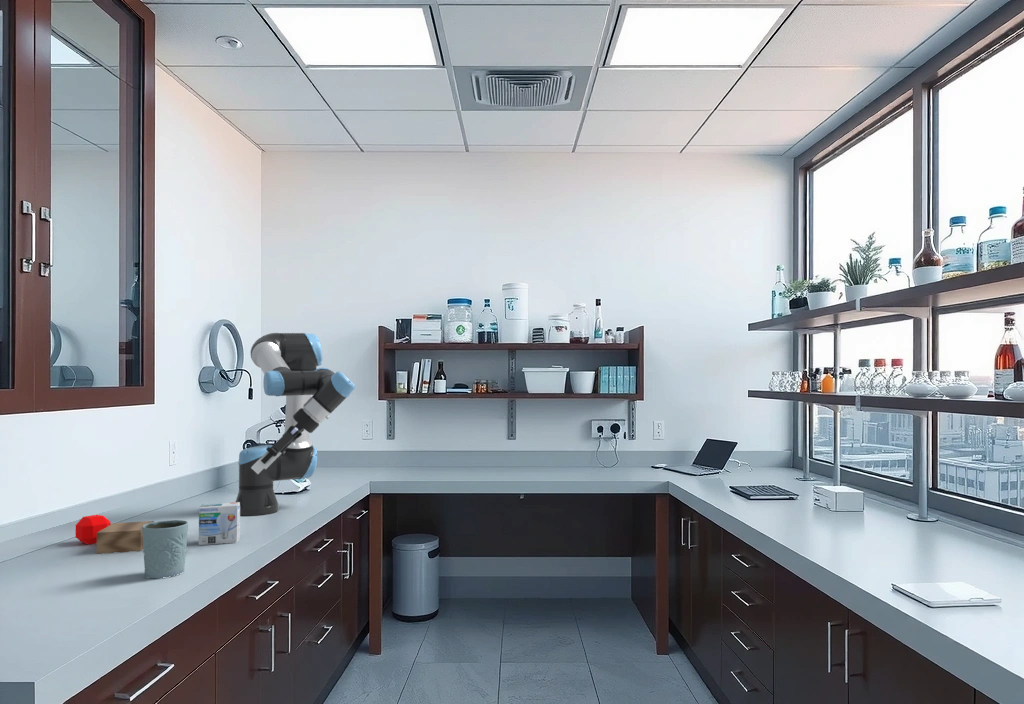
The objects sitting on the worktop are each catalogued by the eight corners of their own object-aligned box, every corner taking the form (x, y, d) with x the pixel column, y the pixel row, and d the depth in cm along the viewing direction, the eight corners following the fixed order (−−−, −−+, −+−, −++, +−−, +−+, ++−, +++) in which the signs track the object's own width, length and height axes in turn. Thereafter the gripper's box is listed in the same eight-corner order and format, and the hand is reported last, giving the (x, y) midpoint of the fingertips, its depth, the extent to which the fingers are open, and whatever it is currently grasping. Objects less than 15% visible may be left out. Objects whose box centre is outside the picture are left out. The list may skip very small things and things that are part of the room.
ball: (114, 541, 211) (114, 515, 211) (85, 546, 204) (85, 519, 204) (100, 538, 215) (100, 512, 215) (71, 543, 209) (72, 517, 209)
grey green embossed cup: (166, 567, 179) (166, 518, 179) (197, 570, 175) (197, 521, 175) (131, 577, 169) (132, 526, 170) (164, 581, 166) (164, 529, 166)
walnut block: (96, 554, 195) (96, 532, 195) (113, 543, 209) (113, 523, 209) (140, 552, 197) (140, 530, 198) (154, 541, 211) (154, 520, 211)
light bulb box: (198, 545, 203) (198, 507, 203) (201, 541, 209) (201, 503, 210) (238, 542, 206) (238, 505, 206) (240, 538, 212) (240, 501, 213)
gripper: (316, 425, 201) (261, 482, 198) (323, 422, 226) (274, 472, 222) (296, 407, 201) (240, 463, 197) (306, 406, 225) (256, 456, 222)
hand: (258, 468), depth 210 cm, fingers open, 13 cm apart
